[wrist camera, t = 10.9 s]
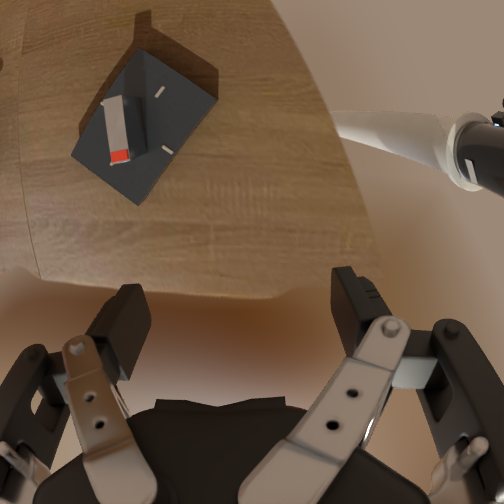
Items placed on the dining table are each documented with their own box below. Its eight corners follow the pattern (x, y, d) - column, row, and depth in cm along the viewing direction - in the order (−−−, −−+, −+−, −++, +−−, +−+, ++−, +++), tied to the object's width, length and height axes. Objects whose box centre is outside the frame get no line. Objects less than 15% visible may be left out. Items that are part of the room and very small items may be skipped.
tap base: (145, 51, 28) (138, 46, 26) (218, 100, 31) (216, 99, 29) (79, 152, 33) (69, 155, 31) (144, 200, 36) (137, 206, 34)
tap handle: (123, 100, 28) (101, 99, 23) (140, 96, 28) (120, 94, 23) (131, 156, 31) (111, 165, 26) (147, 153, 31) (129, 161, 26)
